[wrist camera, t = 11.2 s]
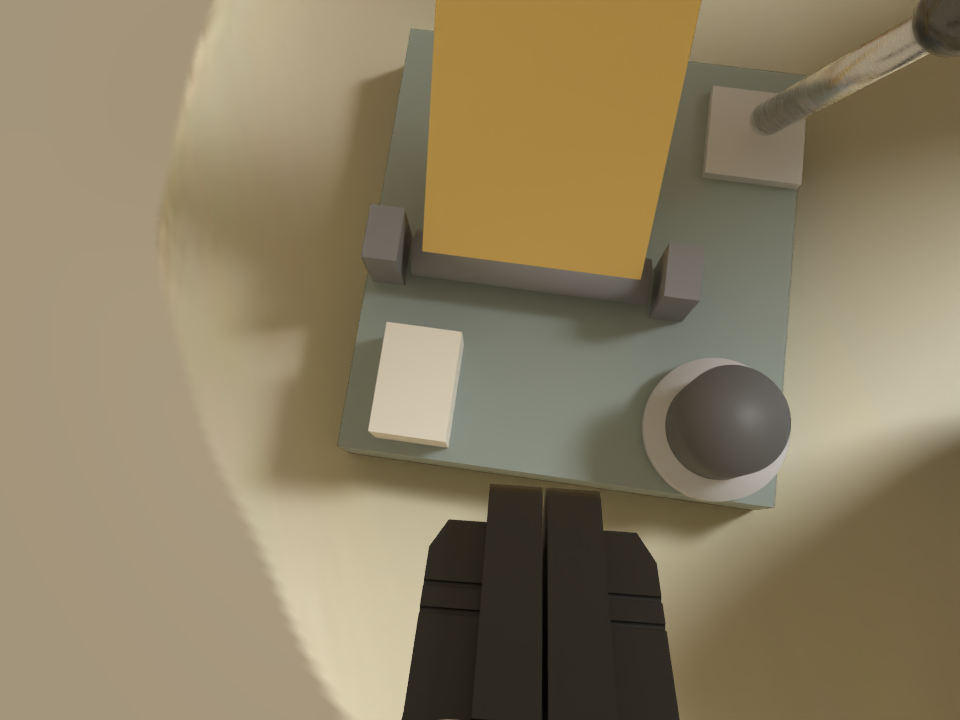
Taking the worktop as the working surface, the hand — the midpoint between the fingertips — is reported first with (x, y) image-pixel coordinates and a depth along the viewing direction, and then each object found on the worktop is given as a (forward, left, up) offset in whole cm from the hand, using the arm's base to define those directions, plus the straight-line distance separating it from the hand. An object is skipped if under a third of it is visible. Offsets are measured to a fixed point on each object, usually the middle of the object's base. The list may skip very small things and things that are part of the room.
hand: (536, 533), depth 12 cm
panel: (-9, +1, -15) cm, 18 cm away
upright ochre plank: (-8, -1, -12) cm, 15 cm away
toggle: (-13, +6, -12) cm, 19 cm away
